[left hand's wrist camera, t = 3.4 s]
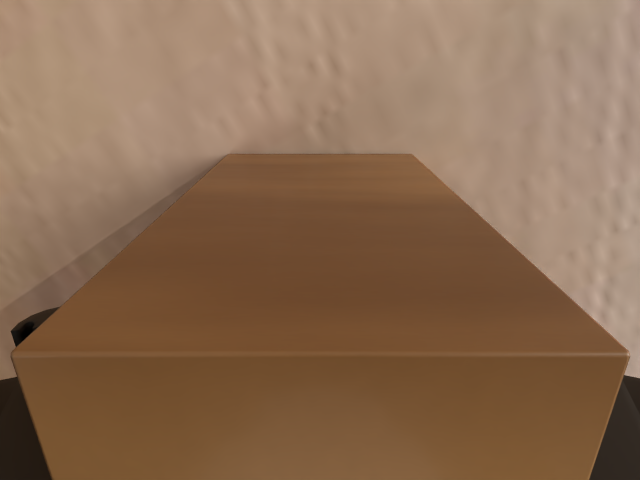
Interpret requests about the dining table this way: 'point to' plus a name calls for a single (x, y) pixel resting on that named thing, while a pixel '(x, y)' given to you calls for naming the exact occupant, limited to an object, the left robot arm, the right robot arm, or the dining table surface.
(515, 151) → the dining table surface
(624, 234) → the dining table surface
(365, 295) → the box
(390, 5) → the dining table surface
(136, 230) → the dining table surface
